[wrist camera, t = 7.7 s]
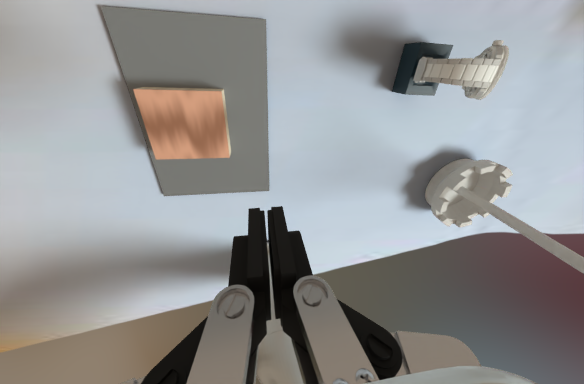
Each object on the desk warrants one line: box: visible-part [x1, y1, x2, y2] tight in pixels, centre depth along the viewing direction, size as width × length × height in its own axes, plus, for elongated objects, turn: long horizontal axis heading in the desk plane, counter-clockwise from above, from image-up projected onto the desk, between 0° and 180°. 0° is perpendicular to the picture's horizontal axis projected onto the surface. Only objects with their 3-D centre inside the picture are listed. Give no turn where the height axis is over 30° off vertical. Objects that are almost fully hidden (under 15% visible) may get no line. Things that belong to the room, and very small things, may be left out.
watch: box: [392, 40, 509, 100], centre depth 24 cm, size 6×8×11 cm
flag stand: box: [425, 159, 584, 274], centre depth 29 cm, size 13×13×30 cm
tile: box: [133, 87, 231, 160], centre depth 26 cm, size 8×2×9 cm
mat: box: [101, 6, 269, 196], centre depth 27 cm, size 22×16×1 cm
